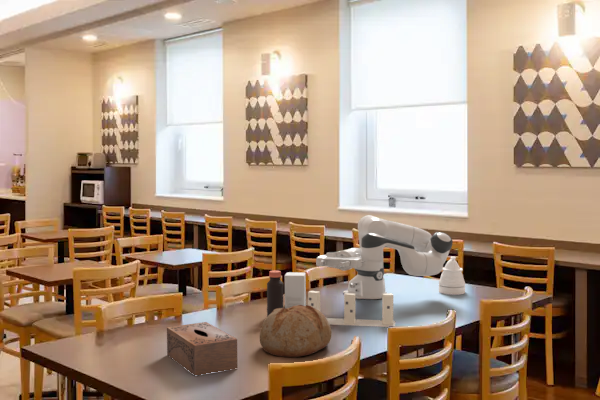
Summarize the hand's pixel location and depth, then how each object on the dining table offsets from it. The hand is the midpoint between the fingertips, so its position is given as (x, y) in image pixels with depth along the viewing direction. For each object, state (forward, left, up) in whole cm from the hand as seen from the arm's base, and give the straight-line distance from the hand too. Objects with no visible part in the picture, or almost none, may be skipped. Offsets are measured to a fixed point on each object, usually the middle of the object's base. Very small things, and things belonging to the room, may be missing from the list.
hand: (331, 264), depth 283 cm
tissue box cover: (+25, -74, -23) cm, 81 cm away
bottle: (-10, -22, -22) cm, 33 cm away
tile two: (+15, -2, -22) cm, 27 cm away
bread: (+30, -39, -23) cm, 54 cm away
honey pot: (-5, +80, -22) cm, 83 cm away
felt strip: (+14, -1, -22) cm, 26 cm away
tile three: (+3, -12, -22) cm, 25 cm away
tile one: (+25, +10, -22) cm, 34 cm away
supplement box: (-24, -2, -22) cm, 33 cm away
